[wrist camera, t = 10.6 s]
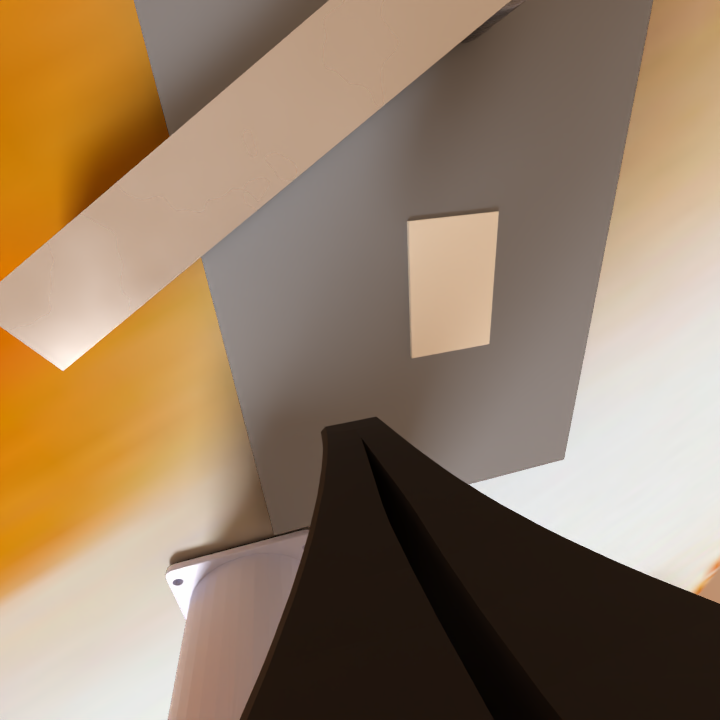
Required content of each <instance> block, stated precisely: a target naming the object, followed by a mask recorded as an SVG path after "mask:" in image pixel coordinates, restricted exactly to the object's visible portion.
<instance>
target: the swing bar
mask: <svg viewBox="0 0 720 720" xmlns="http://www.w3.org/2000/svg"><path fill="white" fill-rule="evenodd" d="M525 1H526V0H329V1H327V2H326V3H325V4H324V5H323V6H322V7H320V8H319V9H318V10H317V11H316V12H315V13H313V14H312V15H311V16H310V17H309V18H308V19H306V20H305V21H304V22H303V23H302V24H301V25H299V26H298V27H297V28H296V29H295V30H294V31H292V32H291V33H290V34H289V35H288V36H287V37H285V38H284V39H283V40H282V41H281V42H280V43H278V44H277V45H276V46H275V47H274V48H273V49H271V50H270V51H269V52H268V53H267V54H266V55H264V56H263V57H262V58H261V59H260V60H259V61H257V62H256V63H255V64H254V65H253V66H252V67H250V68H249V69H248V70H247V71H246V72H245V73H243V74H242V75H241V76H240V77H239V78H238V79H236V80H235V81H234V82H233V83H232V84H231V85H229V86H228V87H227V88H226V89H225V90H224V91H222V92H221V93H220V94H219V95H218V96H217V97H215V98H214V99H213V100H212V101H211V102H210V103H208V104H207V105H206V106H205V107H204V108H203V109H201V110H200V111H199V112H198V113H197V114H196V115H194V116H193V117H192V118H191V119H190V120H189V121H187V122H186V123H185V124H184V125H183V126H182V127H180V128H179V129H178V130H177V131H176V132H175V133H173V134H172V135H171V136H170V137H169V138H168V139H166V140H165V141H164V142H163V143H162V144H161V145H159V146H158V147H157V148H156V149H155V150H154V151H152V152H151V153H150V154H149V155H148V156H147V157H145V158H144V159H143V160H142V161H141V162H140V163H138V164H137V165H136V166H135V167H134V168H133V169H131V170H130V171H129V172H128V173H127V174H126V175H124V176H123V177H122V178H121V179H120V180H119V181H117V182H116V183H115V184H114V185H113V186H112V187H110V188H109V189H108V190H107V191H106V192H105V193H103V194H102V195H101V196H100V197H99V198H98V199H96V200H95V201H94V202H93V203H92V204H91V205H89V206H88V207H87V208H86V209H85V210H84V211H82V212H81V213H80V214H79V215H78V216H77V217H75V218H74V219H73V220H72V221H71V222H70V223H68V224H67V225H66V226H65V227H64V228H63V229H61V230H60V231H59V232H58V233H57V234H56V235H54V236H53V237H52V238H51V239H50V240H49V241H47V242H46V243H45V244H44V245H43V246H42V247H40V248H39V249H38V250H37V251H36V252H35V253H33V254H32V255H31V256H30V257H29V258H28V259H26V260H25V261H24V262H23V263H22V264H21V265H19V266H18V267H17V268H16V269H15V270H14V271H12V272H11V273H10V274H9V275H8V276H7V277H5V278H4V279H3V280H2V281H1V282H0V326H1V327H2V328H3V329H5V330H6V331H8V332H9V333H10V334H12V335H13V336H15V337H16V338H17V339H19V340H20V341H22V342H23V343H24V344H26V345H27V346H29V347H30V348H31V349H33V350H34V351H36V352H37V353H38V354H40V355H41V356H43V357H44V358H45V359H47V360H48V361H50V362H51V363H52V364H54V365H55V366H57V367H58V368H60V369H61V370H62V371H64V370H65V369H66V368H67V367H68V366H70V365H71V364H72V363H73V362H75V361H76V360H77V359H78V358H79V357H81V356H82V355H83V354H84V353H85V352H87V351H88V350H89V349H90V348H91V347H93V346H94V345H95V344H96V343H97V342H99V341H100V340H101V339H102V338H104V337H105V336H106V335H107V334H108V333H110V332H111V331H112V330H113V329H114V328H116V327H117V326H118V325H119V324H120V323H122V322H123V321H124V320H125V319H126V318H128V317H129V316H130V315H131V314H133V313H134V312H135V311H136V310H137V309H139V308H140V307H141V306H142V305H143V304H145V303H146V302H147V301H148V300H149V299H151V298H152V297H153V296H154V295H155V294H157V293H158V292H159V291H160V290H162V289H163V288H164V287H165V286H166V285H168V284H169V283H170V282H171V281H172V280H174V279H175V278H176V277H177V276H178V275H180V274H181V273H182V272H183V271H184V270H186V269H187V268H188V267H189V266H191V265H192V264H193V263H194V262H195V261H197V260H198V259H199V258H200V257H201V256H203V255H204V254H205V253H206V252H207V251H209V250H210V249H211V248H212V247H213V246H215V245H216V244H217V243H218V242H220V241H221V240H222V239H223V238H224V237H226V236H227V235H228V234H229V233H230V232H232V231H233V230H234V229H235V228H236V227H238V226H239V225H240V224H241V223H242V222H244V221H245V220H246V219H247V218H249V217H250V216H251V215H252V214H253V213H255V212H256V211H257V210H258V209H259V208H261V207H262V206H263V205H264V204H265V203H267V202H268V201H269V200H270V199H271V198H273V197H274V196H275V195H276V194H278V193H279V192H280V191H281V190H282V189H284V188H285V187H286V186H287V185H288V184H290V183H291V182H292V181H293V180H294V179H296V178H297V177H298V176H299V175H300V174H302V173H303V172H304V171H305V170H307V169H308V168H309V167H310V166H311V165H313V164H314V163H315V162H316V161H317V160H319V159H320V158H321V157H322V156H323V155H325V154H326V153H327V152H328V151H329V150H331V149H332V148H333V147H334V146H336V145H337V144H338V143H339V142H340V141H342V140H343V139H344V138H345V137H346V136H348V135H349V134H350V133H351V132H352V131H354V130H355V129H356V128H357V127H359V126H360V125H361V124H362V123H363V122H365V121H366V120H367V119H368V118H369V117H371V116H372V115H373V114H374V113H375V112H377V111H378V110H379V109H380V108H381V107H383V106H384V105H385V104H386V103H388V102H389V101H390V100H391V99H392V98H394V97H395V96H396V95H397V94H398V93H400V92H401V91H402V90H403V89H404V88H406V87H407V86H408V85H409V84H410V83H412V82H413V81H414V80H415V79H417V78H418V77H419V76H420V75H421V74H423V73H424V72H425V71H426V70H427V69H429V68H430V67H431V66H432V65H433V64H435V63H436V62H437V61H438V60H439V59H441V58H442V57H443V56H444V55H446V54H447V53H448V52H449V51H450V50H452V49H453V48H454V47H455V46H456V45H458V44H459V43H467V42H470V41H473V40H475V39H477V38H478V37H479V36H481V35H482V34H483V33H485V32H486V31H487V30H489V29H490V28H491V27H493V26H494V25H495V24H496V23H498V22H499V21H500V20H502V19H503V18H504V17H505V16H507V15H508V14H509V13H511V12H512V11H513V10H515V9H516V8H517V7H518V6H520V5H521V4H522V3H524V2H525Z"/></svg>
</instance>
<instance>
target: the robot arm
mask: <svg viewBox="0 0 720 720" xmlns="http://www.w3.org/2000/svg"><path fill="white" fill-rule="evenodd" d="M321 437H322V445H323V456H322V468H321V474H320V481H319V488H318V494H317V499H316V503H315V507H314V512H313V516H312V520H311V524H310V529H309V530H307V529H306V530H301V531H297V532H293V533H290V534H286V535H282V536H278V537H274V538H271V539H267V540H263V541H259V542H255V543H252V544H248V545H244V546H240V547H236V548H233V549H229V550H225V551H221V552H218V553H214V554H210V555H206V556H202V557H199V558H195V559H191V560H187V561H183V562H180V563H176V564H173V565H170V566H169V567H168V568H167V570H166V574H165V578H166V580H167V582H168V584H169V586H170V589H171V591H172V593H173V595H174V597H175V599H176V601H177V603H178V605H179V607H180V609H181V612H182V614H183V616H184V618H185V620H186V624H185V629H184V635H183V640H182V645H181V651H180V656H179V662H178V667H177V672H176V678H175V683H174V689H173V694H172V699H171V705H170V710H169V716H168V720H720V604H719V603H716V602H714V601H711V600H709V599H706V598H704V597H701V596H699V595H696V594H694V593H691V592H689V591H686V590H684V589H681V588H679V587H676V586H673V585H671V584H668V583H666V582H663V581H661V580H658V579H656V578H653V577H651V576H649V575H646V574H644V573H642V572H639V571H637V570H635V569H632V568H630V567H628V566H625V565H623V564H620V563H618V562H616V561H614V560H611V559H609V558H607V557H605V556H603V555H600V554H598V553H596V552H594V551H592V550H590V549H588V548H585V547H583V546H581V545H579V544H577V543H575V542H572V541H570V540H568V539H566V538H564V537H562V536H560V535H558V534H556V533H554V532H552V531H550V530H548V529H546V528H544V527H542V526H540V525H538V524H536V523H534V522H532V521H531V520H529V519H527V518H525V517H523V516H521V515H520V514H518V513H516V512H514V511H512V510H510V509H509V508H507V507H505V506H503V505H501V504H499V503H498V502H496V501H494V500H493V499H491V498H489V497H487V496H486V495H484V494H483V493H481V492H479V491H478V490H476V489H475V488H473V487H471V486H470V485H468V484H467V483H465V482H464V481H462V480H461V479H459V478H457V477H456V476H454V475H453V474H452V473H450V472H449V471H447V470H446V469H444V468H443V467H442V466H440V465H439V464H437V463H436V462H435V461H433V460H432V459H430V458H429V457H428V456H426V455H425V454H424V453H422V452H421V451H420V450H418V449H417V448H416V447H414V446H413V445H412V444H410V443H409V442H408V441H407V440H405V439H404V438H403V437H402V436H400V435H399V434H398V433H397V432H395V431H394V430H393V429H392V428H390V427H389V426H388V425H387V424H385V423H384V422H383V421H382V420H380V419H379V418H378V417H371V418H366V419H361V420H356V421H351V422H346V423H341V424H336V425H331V426H326V427H324V429H323V430H322V431H321Z"/></svg>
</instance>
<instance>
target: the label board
mask: <svg viewBox="0 0 720 720" xmlns="http://www.w3.org/2000/svg"><path fill="white" fill-rule="evenodd" d="M327 1H329V0H134V3H135V7H136V11H137V14H138V18H139V22H140V26H141V30H142V33H143V37H144V41H145V45H146V49H147V52H148V56H149V60H150V64H151V68H152V72H153V75H154V79H155V83H156V87H157V91H158V94H159V98H160V102H161V106H162V110H163V113H164V117H165V121H166V125H167V129H168V132H169V136H171V135H172V134H173V133H175V132H176V131H177V130H178V129H179V128H180V127H182V126H183V125H184V124H185V123H186V122H187V121H189V120H190V119H191V118H192V117H193V116H194V115H196V114H197V113H198V112H199V111H200V110H201V109H203V108H204V107H205V106H206V105H207V104H208V103H210V102H211V101H212V100H213V99H214V98H215V97H217V96H218V95H219V94H220V93H221V92H222V91H224V90H225V89H226V88H227V87H228V86H229V85H231V84H232V83H233V82H234V81H235V80H236V79H238V78H239V77H240V76H241V75H242V74H243V73H245V72H246V71H247V70H248V69H249V68H250V67H252V66H253V65H254V64H255V63H256V62H257V61H259V60H260V59H261V58H262V57H263V56H264V55H266V54H267V53H268V52H269V51H270V50H271V49H273V48H274V47H275V46H276V45H277V44H278V43H280V42H281V41H282V40H283V39H284V38H285V37H287V36H288V35H289V34H290V33H291V32H292V31H294V30H295V29H296V28H297V27H298V26H299V25H301V24H302V23H303V22H304V21H305V20H306V19H308V18H309V17H310V16H311V15H312V14H313V13H315V12H316V11H317V10H318V9H319V8H320V7H322V6H323V5H324V4H325V3H326V2H327ZM652 4H653V0H526V1H525V2H524V3H522V4H521V5H520V6H518V7H517V8H516V9H515V10H513V11H512V12H511V13H509V14H508V15H507V16H505V17H504V18H503V19H502V20H500V21H499V22H498V23H496V24H495V25H494V26H493V27H491V28H490V29H489V30H487V31H486V32H485V33H483V34H482V35H481V36H479V37H478V38H477V39H475V40H473V41H470V42H467V43H459V44H458V45H456V46H455V47H454V48H453V49H452V50H450V51H449V52H448V53H447V54H446V55H444V56H443V57H442V58H441V59H439V60H438V61H437V62H436V63H435V64H433V65H432V66H431V67H430V68H429V69H427V70H426V71H425V72H424V73H423V74H421V75H420V76H419V77H418V78H417V79H415V80H414V81H413V82H412V83H410V84H409V85H408V86H407V87H406V88H404V89H403V90H402V91H401V92H400V93H398V94H397V95H396V96H395V97H394V98H392V99H391V100H390V101H389V102H388V103H386V104H385V105H384V106H383V107H381V108H380V109H379V110H378V111H377V112H375V113H374V114H373V115H372V116H371V117H369V118H368V119H367V120H366V121H365V122H363V123H362V124H361V125H360V126H359V127H357V128H356V129H355V130H354V131H352V132H351V133H350V134H349V135H348V136H346V137H345V138H344V139H343V140H342V141H340V142H339V143H338V144H337V145H336V146H334V147H333V148H332V149H331V150H329V151H328V152H327V153H326V154H325V155H323V156H322V157H321V158H320V159H319V160H317V161H316V162H315V163H314V164H313V165H311V166H310V167H309V168H308V169H307V170H305V171H304V172H303V173H302V174H300V175H299V176H298V177H297V178H296V179H294V180H293V181H292V182H291V183H290V184H288V185H287V186H286V187H285V188H284V189H282V190H281V191H280V192H279V193H278V194H276V195H275V196H274V197H273V198H271V199H270V200H269V201H268V202H267V203H265V204H264V205H263V206H262V207H261V208H259V209H258V210H257V211H256V212H255V213H253V214H252V215H251V216H250V217H249V218H247V219H246V220H245V221H244V222H242V223H241V224H240V225H239V226H238V227H236V228H235V229H234V230H233V231H232V232H230V233H229V234H228V235H227V236H226V237H224V238H223V239H222V240H221V241H220V242H218V243H217V244H216V245H215V246H213V247H212V248H211V249H210V250H209V251H207V252H206V253H205V254H204V255H203V256H201V258H202V262H203V266H204V270H205V273H206V277H207V281H208V285H209V289H210V292H211V296H212V300H213V304H214V308H215V311H216V315H217V319H218V323H219V327H220V330H221V334H222V338H223V342H224V346H225V349H226V353H227V357H228V361H229V365H230V369H231V372H232V376H233V380H234V384H235V388H236V391H237V395H238V399H239V403H240V407H241V410H242V414H243V418H244V422H245V426H246V429H247V433H248V437H249V441H250V445H251V448H252V452H253V456H254V460H255V464H256V467H257V471H258V475H259V479H260V483H261V487H262V490H263V494H264V498H265V502H266V506H267V509H268V513H269V517H270V521H271V525H272V528H273V532H274V535H278V534H281V533H285V532H289V531H293V530H297V529H300V528H304V527H308V526H310V524H311V520H312V516H313V512H314V507H315V503H316V499H317V494H318V488H319V481H320V474H321V468H322V456H323V445H322V437H321V431H322V430H323V429H324V427H326V426H331V425H336V424H341V423H346V422H351V421H356V420H361V419H366V418H371V417H378V418H379V419H380V420H382V421H383V422H384V423H385V424H387V425H388V426H389V427H390V428H392V429H393V430H394V431H395V432H397V433H398V434H399V435H400V436H402V437H403V438H404V439H405V440H407V441H408V442H409V443H410V444H412V445H413V446H414V447H416V448H417V449H418V450H420V451H421V452H422V453H424V454H425V455H426V456H428V457H429V458H430V459H432V460H433V461H435V462H436V463H437V464H439V465H440V466H442V467H443V468H444V469H446V470H447V471H449V472H450V473H452V474H453V475H454V476H456V477H457V478H459V479H461V480H462V481H464V482H465V483H467V484H472V483H476V482H479V481H483V480H487V479H491V478H495V477H498V476H502V475H506V474H510V473H514V472H517V471H521V470H525V469H529V468H533V467H536V466H540V465H544V464H548V463H552V462H555V461H559V460H563V459H564V457H565V451H566V446H567V441H568V436H569V431H570V426H571V420H572V415H573V410H574V405H575V400H576V395H577V390H578V384H579V379H580V374H581V369H582V364H583V359H584V354H585V348H586V343H587V338H588V333H589V328H590V323H591V318H592V312H593V307H594V302H595V297H596V292H597V287H598V282H599V276H600V271H601V266H602V261H603V256H604V251H605V246H606V240H607V235H608V230H609V225H610V220H611V215H612V210H613V204H614V199H615V194H616V189H617V184H618V179H619V174H620V168H621V163H622V158H623V153H624V148H625V143H626V137H627V132H628V127H629V122H630V117H631V112H632V107H633V101H634V96H635V91H636V86H637V81H638V76H639V71H640V65H641V60H642V55H643V50H644V45H645V40H646V35H647V29H648V24H649V19H650V14H651V9H652Z"/></svg>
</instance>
